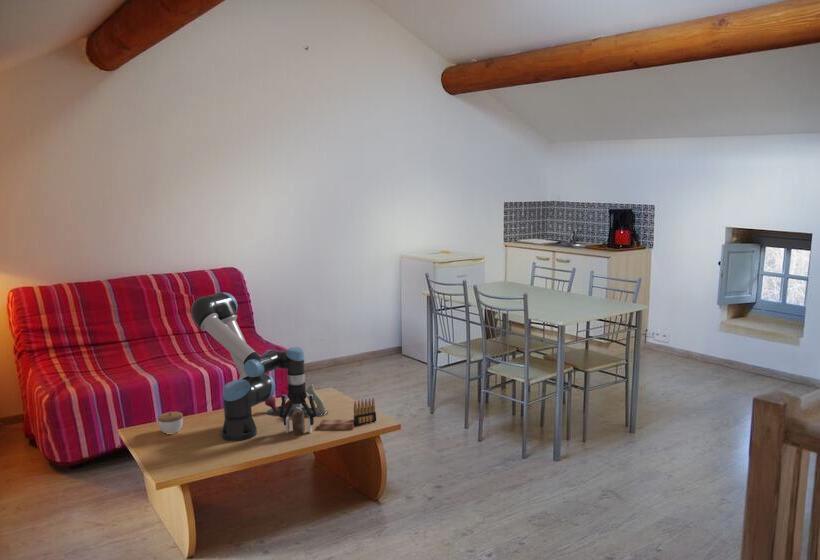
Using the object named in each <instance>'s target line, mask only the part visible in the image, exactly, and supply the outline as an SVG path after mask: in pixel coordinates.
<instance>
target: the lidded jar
mask: <svg viewBox="0 0 820 560" xmlns="http://www.w3.org/2000/svg"><path fill="white" fill-rule="evenodd" d="M183 416H184V415H183V412H179V411H168V412H164V413H161V414H159V415H158V416H157V423H158V424H157V425H158V427H159V430H160V431H162V433H164V434H165V433H175V432H178V431H180V430H181V429H182V427H183V423H184V417H183ZM178 433H179V432H178Z"/></svg>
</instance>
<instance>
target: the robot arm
mask: <svg viewBox="0 0 820 560" xmlns="http://www.w3.org/2000/svg"><path fill="white" fill-rule="evenodd" d="M238 307H239V306H238V301H237V299H236V298H235V296H233V295H232V294H231V293H229V292H217V293H214V294H209V295H206V296H201V297H198V298H197V299H196V300H194V301H193V303H192V305H191V307H190V315H191V319H192V320H193V322H194V324H195V325H196V326H197V327H198V329H200V330H201V331H203V332H205V331H206V333H208V334H209V335H210V336H211V337H212V338H213V339H215V341H217V343H219V344H220V345H221V346H222V347H223V348H224V349H226V350H227V351H228V352H229V354H230V356H231V358H232V360H233V364H234V365H235V367H236V370H237V371H238V372H237V373H239V375H240V376H239V379H236V380H232V381H229V382H227V383H225V385H224V386H223V387H222V388H223V389H222V402H223V412H224V413H223V414H224V421H223V425H222V428H221V438H222V439H223V440H226V441H230V440H238V441H244V440H248V439H251V438H253V437H255V436H256V435H257V434H258V428H257V425H256V422H255V421H254V418H253V415H252V413H253V412H252V407H255V406H257V405H259V404H262V403H263V402H264V403H265V401H266V400H267V399H269V398H271V397H272V396H273V395H275V394H274V393H275V390H276V384H275V381H274V378H273V377H272V376H271V375H269V374H267V373H269V372H271V371H274V370H276V369H283V370H284V369H285V370H286V374H287V383H288V384H287V388H288V389H287V391H288V393H287V394H285V393H284V394H281V395H282V396H281V404H280V406H281V408H280V413H279V416H278V417H279V418H282V419H283V426H285V427H286V428H285V430H286V434H288V433H290V431H291V430H290V416H289V415H288V413H289V411H290V409H291V407H292V405H293V404H301V405H302V406H303V407H304V409H305V410H306V412H307V414H308V415H309V416H308V418H307V421H308V434H311V433H312V431H313V427H312V426H313V425H314V424H315V423H314V421H315V420H314V418H316V417H318V416H317V410H316V407H317V406H316V403H315V401H314V400H313V394H311V395H309V394H308V393H307V392H306V390H307V389H306V374H305V373H306V371H305V356H304V355H305V354H304V349H303V348H302V347H299V346H296V347H288V348H287V349H286V351H283V350H277V349H268V350H265V352H264V353H263V354H262V355H260V354H259V353H258V352H257V351H255V350H254V349H253V348H252V347H251V346H250V345H249V344H248V343H247V340H246V339H245V337H244V334H243V333H242V331H241V328H240V326H239V324H238V322H237V319H238ZM273 397H274V396H273ZM306 398H307V400H306ZM287 399H288V400H289V399H290V401H291V402H290V404H289V406H288V408H287V410H286V412H285V414H283V412H284V407H285V403H286V402H287ZM307 401H308V402H309V405H310V407H309V405H308V403H307ZM310 408H311V409H312V412H313V413H312V412H311V410H310Z"/></svg>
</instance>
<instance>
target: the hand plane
mask: <svg viewBox="0 0 820 560" xmlns="http://www.w3.org/2000/svg"><path fill="white" fill-rule="evenodd" d="M306 394H307V395H311V394H313V401H314V404H315V407H316V410H317V416H316V417H319V416H322V415H323V416H324V417H326V416H327V415H328V414H329V411H328V410H326V405H325V402H324V400H323V398H322V397H321V396H320V395H319V394H318V393H317V392H316V389H315V386H314V383H312V384H310V385H309V386H308V387H307V389H306ZM290 402H291V401H290V399H289V398H288V400H286V402H285V407H284V412H283V414H285V412H286V410H287V408H288V406H289V404H290ZM264 404H265V405H266V406H267V407H269V408H270V409H268V410H267V411H266V412H265V415H275V414H276V415H277V416H278V415H279V413H280V408H281V405H280V406H277V405H276V398H275V397H274V396H272V397H271V398H269V399H267V400H266V401H264ZM309 408H310V410H311V412H312V409H311V407H309ZM300 410H303V411H304V417H309V415H308V414H307V412H306V410H305V409H304V407H303V406H302V404H293V405H292V407H291V409H290V411H289V413H288V415H287V416H292V414H293V413H294V412H295V411H300ZM326 411H327V413H326V414H325V412H326ZM312 413H313V412H312ZM321 414H322V415H321ZM324 414H325V415H326V416H325V415H324Z"/></svg>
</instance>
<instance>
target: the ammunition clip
mask: <svg viewBox="0 0 820 560" xmlns="http://www.w3.org/2000/svg"><path fill="white" fill-rule="evenodd" d="M371 399H372V400H371ZM360 401H361V402H360ZM375 404H376V403H375V398H374V397H372V398H370V397H368V399H367V398H365V399H363V398H362V399H361V400H360V399H358V400H357V401H356V400H354V402H353V420H354V424H355V425H354V427H356V426H363V425H367V424H366V423H368V424H371V423H370V422H373V423H376V422H375V421H377V411H376V405H375ZM362 424H363V425H362Z"/></svg>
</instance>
